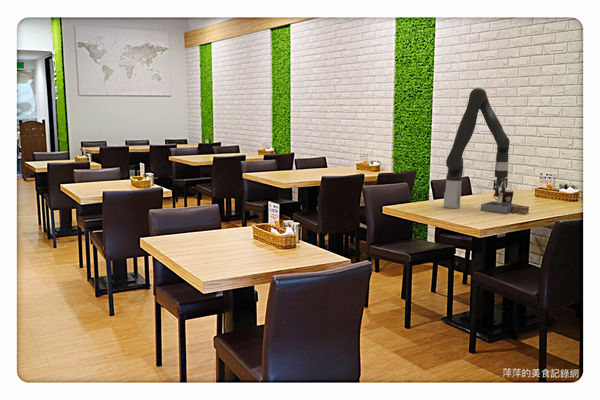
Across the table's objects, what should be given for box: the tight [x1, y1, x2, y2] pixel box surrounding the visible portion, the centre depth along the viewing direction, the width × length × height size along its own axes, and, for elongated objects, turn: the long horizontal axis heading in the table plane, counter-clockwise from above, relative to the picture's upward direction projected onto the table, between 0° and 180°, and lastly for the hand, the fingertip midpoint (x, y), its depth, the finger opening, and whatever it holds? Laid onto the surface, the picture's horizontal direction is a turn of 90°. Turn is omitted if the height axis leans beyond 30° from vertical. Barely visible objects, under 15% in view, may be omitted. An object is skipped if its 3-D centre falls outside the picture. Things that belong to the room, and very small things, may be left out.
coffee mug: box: [493, 189, 514, 204], centre depth 349 cm, size 12×9×10 cm
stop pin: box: [496, 192, 503, 206], centre depth 333 cm, size 3×3×10 cm
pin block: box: [511, 204, 530, 216], centre depth 326 cm, size 7×7×4 cm
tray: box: [480, 200, 518, 215], centre depth 334 cm, size 16×15×4 cm
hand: (499, 195), depth 333 cm, fingers open, 8 cm apart
